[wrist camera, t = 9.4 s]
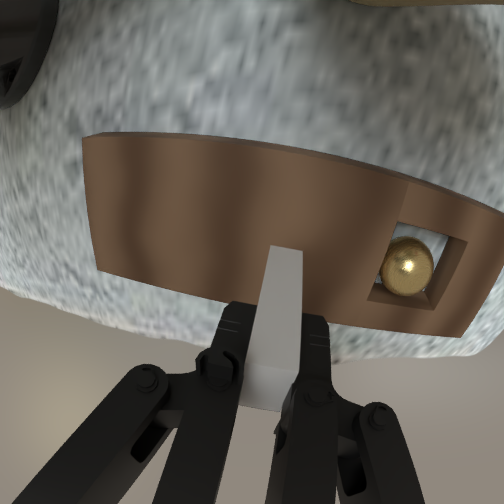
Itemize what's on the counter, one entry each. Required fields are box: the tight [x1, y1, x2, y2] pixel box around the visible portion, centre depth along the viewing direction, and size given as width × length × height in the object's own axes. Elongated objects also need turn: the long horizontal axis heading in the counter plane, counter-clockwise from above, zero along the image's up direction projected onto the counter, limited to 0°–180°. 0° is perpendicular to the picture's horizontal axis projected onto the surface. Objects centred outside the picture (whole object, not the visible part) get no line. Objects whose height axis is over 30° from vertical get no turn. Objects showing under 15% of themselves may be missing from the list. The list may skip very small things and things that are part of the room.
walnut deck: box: [82, 132, 504, 338], centre depth 18 cm, size 32×11×2 cm, turn 83°
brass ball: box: [379, 236, 434, 296], centre depth 16 cm, size 4×4×4 cm
